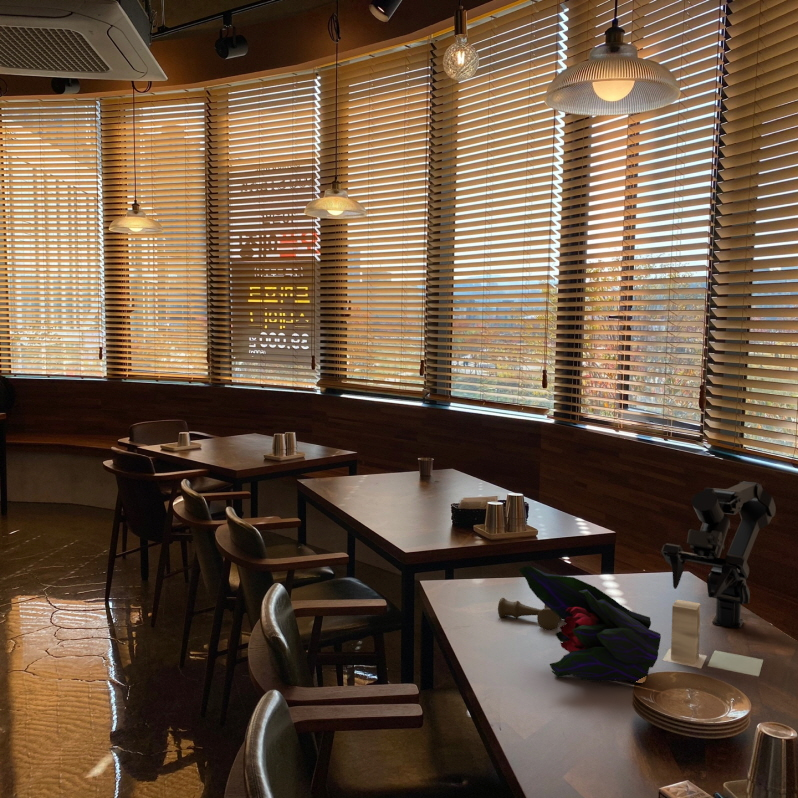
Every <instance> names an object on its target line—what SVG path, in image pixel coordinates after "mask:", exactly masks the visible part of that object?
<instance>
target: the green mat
mask: <svg viewBox="0 0 798 798" xmlns="http://www.w3.org/2000/svg"><path fill="white" fill-rule="evenodd" d="M763 663H764V659H763V658H756V657H752V656H746V655H742V654H741V655H740V654H736V653H732V652H725V651H720V650H714V651H713V653H712V655H711V657H710V660H709V662H708V663H707V667H710V668H715V669H719V670H720V669H721V670H725V671H728V672H729V671H730V672H735V673H738V674H745V675H750V676H753V677H759V676H760V673H761V670H762V666H763Z"/></svg>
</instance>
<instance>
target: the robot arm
mask: <svg viewBox="0 0 798 798" xmlns="http://www.w3.org/2000/svg"><path fill="white" fill-rule="evenodd" d="M691 505H692V507H693V509H694V512H695V513H696V515H697V517H698V519H699V521H701V522H702V524H701V526H700V530H694V529H689V530H688V534H687V541H686V544H689V548H690V550H691V551H692V552H687V551H684V549H683V547H682V546H681V545H680V544H674V543H668V542H667V543H665V544H663V545H662V548H661V550H660V551H661V555H662V556H663V558H664V560H665V562H666V563H667V564H669V565H670V567H671V570H672V571H671V572H672V586H673V589H675V590H676V589H677V588H678V586H679V584H680V581H681V578H682V575H683V572H684V570H685V568H684V565H685V563H686V561H687V562H692V563H697V564H703V565H708V566H712V568H711V569H710V573H709V574H708V575H707V577H706V578H707V579H706V587H707V595H708V598H712V599H716V602H715V616H714V618H713V620H712V624H713V625H715V626H722V627H728V628H734V629H741V628H742V625H743V623H744V619H743V618H741V613H742V612H741V611H742V608H741V607H742V605H744V604H745V605H746V604H750V599H751V595H750V594H751V591H750V588H749V586H748V585H747V581H746V580H747V579H748V578H749V574H750V566H749V564H748V562H747V561H748V560H749V557H750V555H751V554H750V553H751V552H752V549H753V547H754V544H755V541H756V538H757V536H758V534H759V531H761V529H763V528H766V527H767V526H769V525H770V523H771V521H772V519H773V518H774V517H775V515H776V511H777V510H776V509H777V508H776V504H775V501H774V498H773V495H771V494H769V493H768V492H767V491H765V490H764V488H763V487H762V484H761V483H760V484H759V482H753V481H744V480H743V481H739V482H738V484H736V485H733V486H730V487H729V488H725V489H724V488H715V487H714V488H711V487H704V490H702V491H699V492H697V493H696V494H695V495H694V496H693V497H692V498H691ZM738 513H739V516H740V519H741V521H740V522H739V525H738V527H737V529H736V532H735V534H734V537H733V539H732V541H731V544H730V547H729V549H728V551H727V553H726V555H725V558H720V556H721V553H722V551H724V550H725V540H726V537H727V534H728V530H730V529H731V524H730V523H731V520H730V518H729V516H728V515H732V516H735V515H737V514H738ZM727 514H728V515H727Z"/></svg>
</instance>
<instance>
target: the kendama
mask: <svg viewBox="0 0 798 798" xmlns="http://www.w3.org/2000/svg"><path fill="white" fill-rule="evenodd" d="M497 614H498V616H499V618H500V619H503V618H504V617H514V619H518V618H520V617H525V616H526V617H527V616H536V620H537V623H538V626H539V627H540V628H541V629H543V630H545V629H546V631H555V630H557V629H558V627H559V625H560V621H561V620H563V619H562V618H560V617H558V616H557V615H556V614H555V613H554V612H553V611H552V610H551V609H550V608H549V607H547V606H546V605H545V604H544V608H542V609H539V608H536V607H532V606H528V605H525V604H523V603H522V602H520V601H519V600H516V601H510V600H508V599H506V598H505V597H501V598H500V599H499V602H498V605H497ZM502 617H503V618H502Z"/></svg>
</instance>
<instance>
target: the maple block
mask: <svg viewBox="0 0 798 798" xmlns="http://www.w3.org/2000/svg"><path fill="white" fill-rule="evenodd" d="M701 606H702V605H701V603H699V602H694V601H688V600H682V599H676V600H675V602H674V603H673V604H672V608H671V609H672V610H671V611H672V613H671V615H672V616H671V640H670V641H671V643H670V644H671V645H670V648H671V659H672V660H677V661H682V662H687V663H691V664H695V663H696V661H697V659H698V657H699V654H700V631H701V627H700V626H701Z"/></svg>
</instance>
